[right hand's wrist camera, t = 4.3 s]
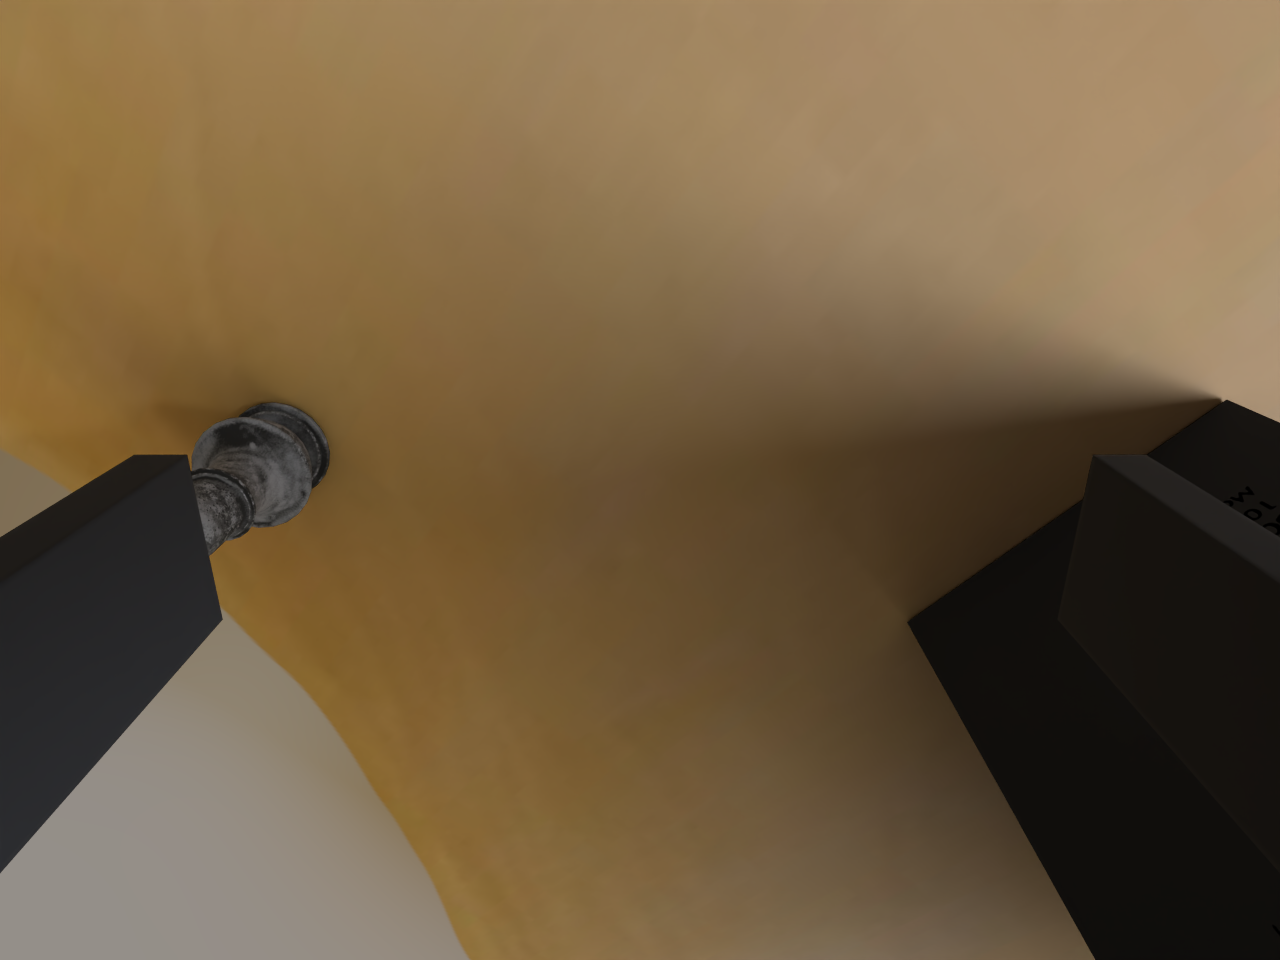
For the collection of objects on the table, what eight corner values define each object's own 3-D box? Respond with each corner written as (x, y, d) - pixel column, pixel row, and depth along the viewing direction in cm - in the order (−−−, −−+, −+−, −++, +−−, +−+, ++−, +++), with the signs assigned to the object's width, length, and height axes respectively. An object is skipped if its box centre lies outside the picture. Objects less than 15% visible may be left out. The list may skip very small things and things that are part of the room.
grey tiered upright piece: (288, 520, 46) (177, 639, 35) (201, 446, 45) (56, 546, 34) (358, 453, 45) (265, 555, 34) (271, 374, 43) (143, 454, 32)
